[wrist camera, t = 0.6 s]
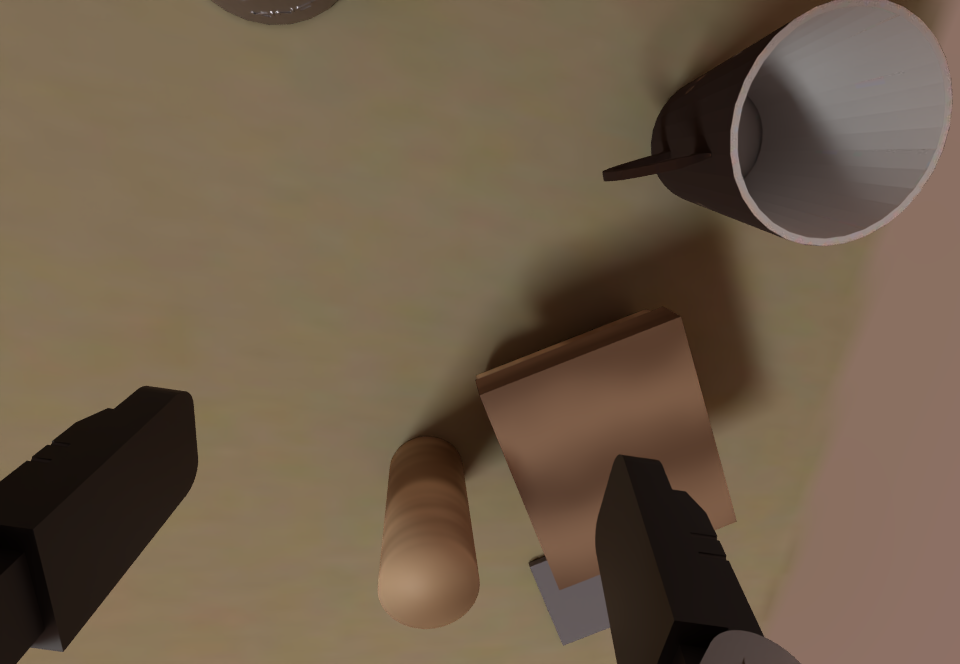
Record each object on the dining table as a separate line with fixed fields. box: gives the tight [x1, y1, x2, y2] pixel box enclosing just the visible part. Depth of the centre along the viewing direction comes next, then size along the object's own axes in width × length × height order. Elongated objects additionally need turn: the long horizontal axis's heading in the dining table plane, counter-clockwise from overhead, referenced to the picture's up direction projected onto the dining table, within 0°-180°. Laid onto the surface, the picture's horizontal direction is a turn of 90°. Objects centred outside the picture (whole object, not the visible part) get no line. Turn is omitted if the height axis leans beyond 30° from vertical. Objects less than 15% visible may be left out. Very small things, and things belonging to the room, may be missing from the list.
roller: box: [378, 436, 480, 629], centre depth 29 cm, size 4×4×10 cm
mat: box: [529, 556, 610, 645], centre depth 37 cm, size 7×7×1 cm
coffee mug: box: [603, 0, 953, 246], centre depth 25 cm, size 12×9×10 cm
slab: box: [476, 307, 737, 590], centre depth 31 cm, size 12×10×6 cm
